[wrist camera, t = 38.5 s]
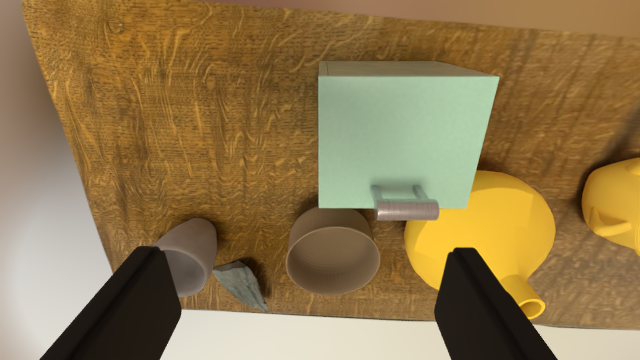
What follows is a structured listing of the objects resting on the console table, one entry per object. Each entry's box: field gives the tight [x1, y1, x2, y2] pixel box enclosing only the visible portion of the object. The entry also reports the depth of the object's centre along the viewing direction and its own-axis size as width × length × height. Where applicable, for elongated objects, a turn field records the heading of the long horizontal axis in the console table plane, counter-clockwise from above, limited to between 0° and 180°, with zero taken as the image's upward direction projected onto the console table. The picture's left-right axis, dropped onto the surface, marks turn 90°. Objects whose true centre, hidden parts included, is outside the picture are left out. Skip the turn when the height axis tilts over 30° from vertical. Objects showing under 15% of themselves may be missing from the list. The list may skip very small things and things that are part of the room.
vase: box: [404, 170, 556, 319], centre depth 38 cm, size 18×18×19 cm
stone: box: [212, 260, 268, 312], centre depth 52 cm, size 11×4×10 cm
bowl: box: [286, 206, 380, 296], centre depth 43 cm, size 13×13×10 cm
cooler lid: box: [318, 75, 500, 220], centre depth 25 cm, size 12×15×6 cm
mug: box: [150, 218, 217, 297], centre depth 44 cm, size 12×9×10 cm
